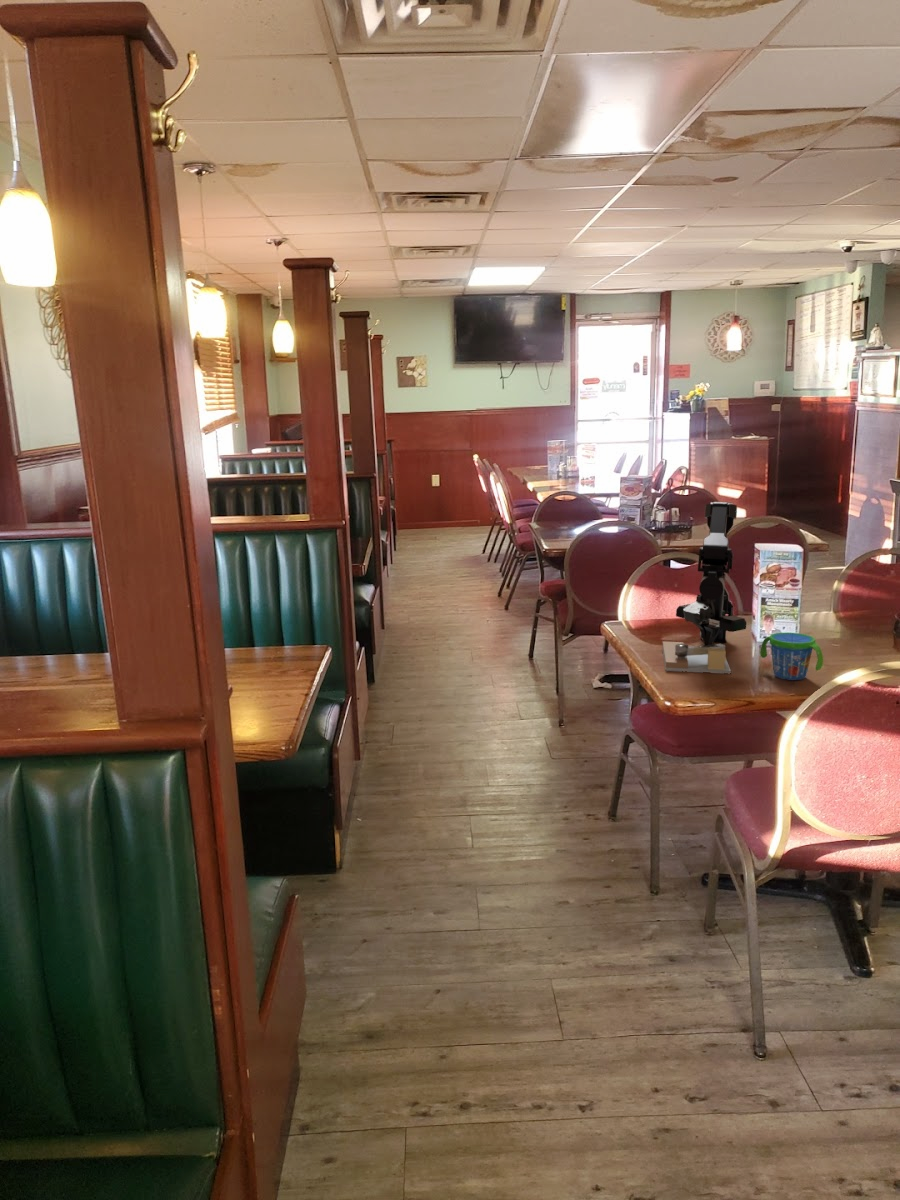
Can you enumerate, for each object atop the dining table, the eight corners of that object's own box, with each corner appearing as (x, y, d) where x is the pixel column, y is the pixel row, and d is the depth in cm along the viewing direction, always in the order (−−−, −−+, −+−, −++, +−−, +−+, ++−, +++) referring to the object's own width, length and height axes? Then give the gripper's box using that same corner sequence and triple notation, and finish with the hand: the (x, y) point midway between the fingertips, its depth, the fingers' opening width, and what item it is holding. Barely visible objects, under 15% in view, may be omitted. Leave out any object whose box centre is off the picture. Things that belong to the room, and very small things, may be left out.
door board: (722, 651, 233) (723, 632, 232) (730, 673, 214) (732, 652, 213) (662, 649, 236) (663, 630, 235) (665, 670, 217) (666, 649, 216)
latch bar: (678, 656, 218) (678, 647, 217) (672, 653, 221) (673, 644, 220) (725, 653, 220) (726, 644, 219) (720, 650, 223) (720, 641, 222)
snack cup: (749, 672, 215) (752, 633, 213) (776, 665, 221) (779, 627, 218) (803, 688, 202) (806, 647, 200) (830, 681, 208) (834, 641, 205)
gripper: (663, 587, 223) (659, 644, 226) (721, 602, 207) (715, 663, 211) (692, 583, 229) (688, 638, 232) (750, 597, 213) (744, 656, 217)
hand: (707, 649), depth 223 cm, fingers closed
